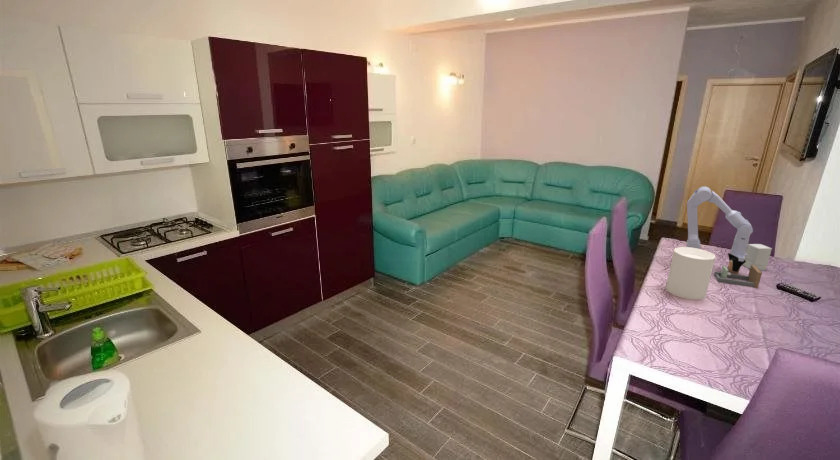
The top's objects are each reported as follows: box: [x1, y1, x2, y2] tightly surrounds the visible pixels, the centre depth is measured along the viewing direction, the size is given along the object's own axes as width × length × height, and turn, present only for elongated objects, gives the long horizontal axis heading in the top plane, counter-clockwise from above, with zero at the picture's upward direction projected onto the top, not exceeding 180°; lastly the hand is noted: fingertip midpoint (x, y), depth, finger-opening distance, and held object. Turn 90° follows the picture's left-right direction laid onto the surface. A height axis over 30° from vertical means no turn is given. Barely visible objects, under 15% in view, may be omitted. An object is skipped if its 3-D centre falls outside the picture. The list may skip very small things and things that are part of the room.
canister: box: [665, 246, 716, 301], centre depth 180 cm, size 16×16×20 cm
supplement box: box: [742, 243, 773, 271], centre depth 208 cm, size 7×7×13 cm
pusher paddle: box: [720, 265, 732, 279], centre depth 195 cm, size 3×6×6 cm, turn 155°
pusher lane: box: [713, 265, 763, 289], centre depth 193 cm, size 16×10×8 cm, turn 65°
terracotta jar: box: [726, 260, 741, 275], centre depth 201 cm, size 5×5×6 cm
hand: (733, 269), depth 201 cm, fingers closed on terracotta jar, 5 cm apart
